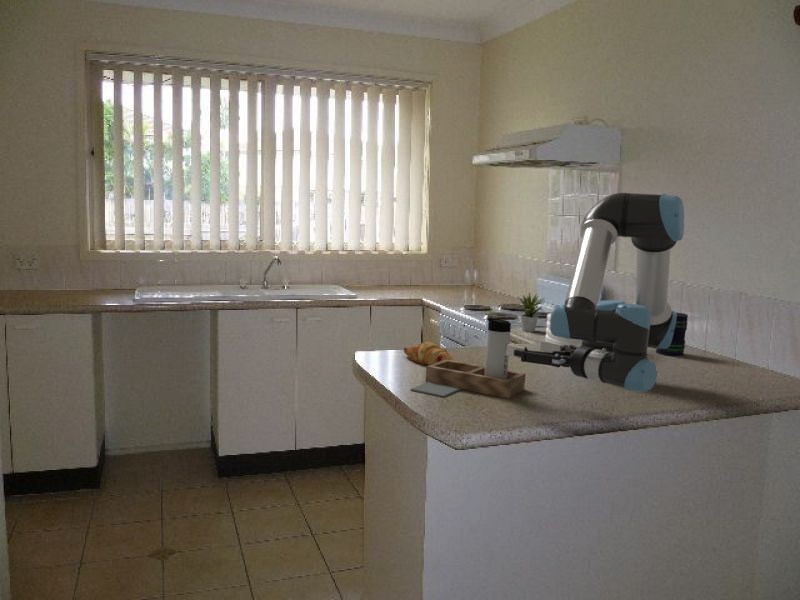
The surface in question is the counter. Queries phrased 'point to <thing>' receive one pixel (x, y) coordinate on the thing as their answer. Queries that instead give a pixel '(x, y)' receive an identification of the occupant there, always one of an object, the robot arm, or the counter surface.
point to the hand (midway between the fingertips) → (524, 347)
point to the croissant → (427, 353)
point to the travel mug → (497, 348)
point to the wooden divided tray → (474, 378)
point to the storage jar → (676, 338)
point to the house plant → (530, 313)
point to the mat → (436, 389)
